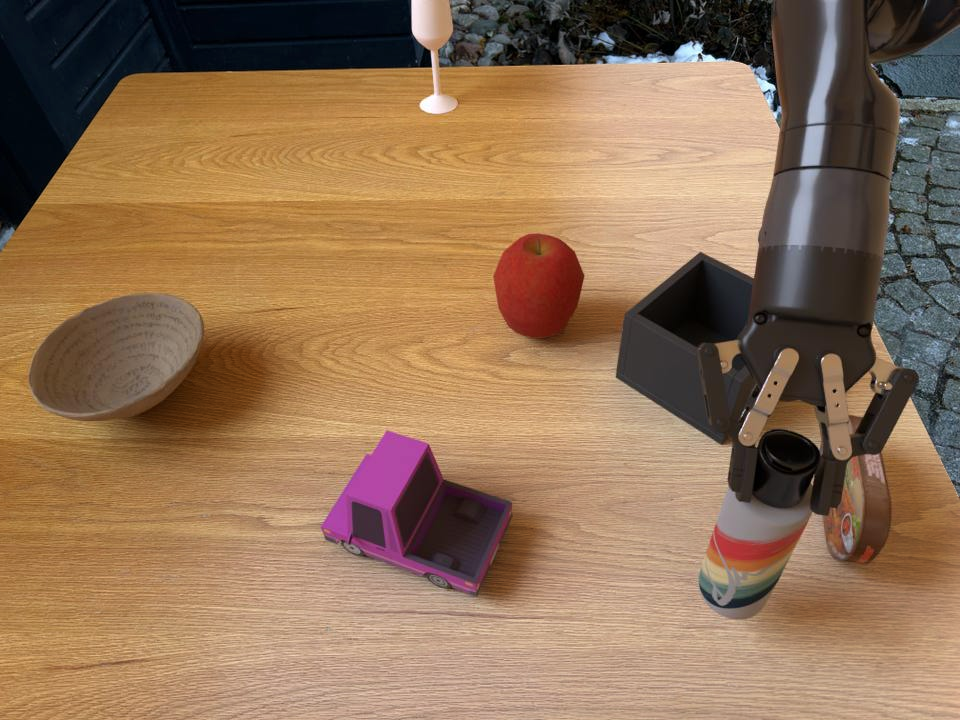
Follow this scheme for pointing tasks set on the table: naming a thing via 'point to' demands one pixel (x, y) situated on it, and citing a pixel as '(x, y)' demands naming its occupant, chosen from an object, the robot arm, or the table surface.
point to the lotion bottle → (760, 527)
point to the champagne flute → (433, 46)
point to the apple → (538, 285)
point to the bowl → (117, 357)
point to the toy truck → (418, 517)
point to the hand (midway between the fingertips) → (780, 505)
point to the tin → (860, 509)
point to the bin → (687, 339)
